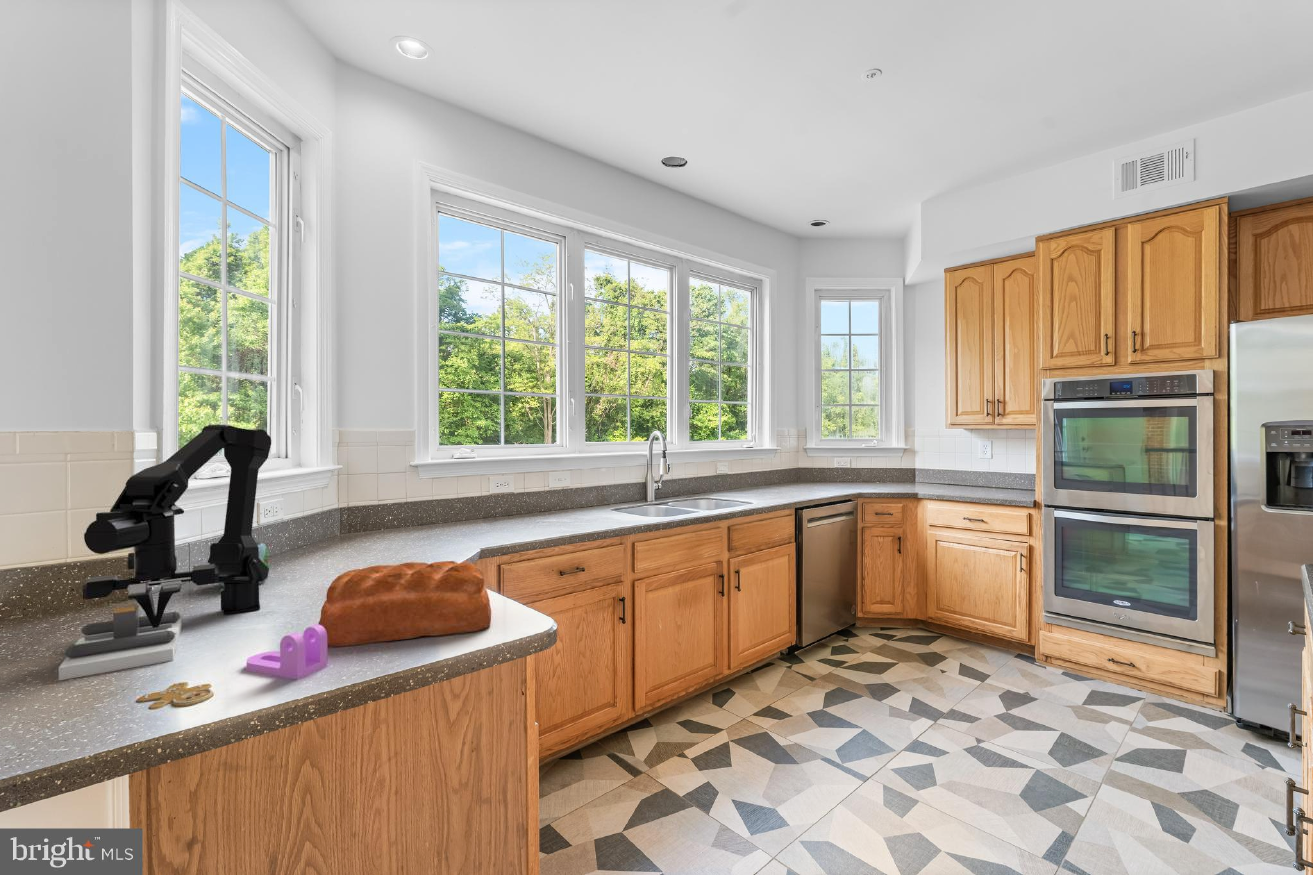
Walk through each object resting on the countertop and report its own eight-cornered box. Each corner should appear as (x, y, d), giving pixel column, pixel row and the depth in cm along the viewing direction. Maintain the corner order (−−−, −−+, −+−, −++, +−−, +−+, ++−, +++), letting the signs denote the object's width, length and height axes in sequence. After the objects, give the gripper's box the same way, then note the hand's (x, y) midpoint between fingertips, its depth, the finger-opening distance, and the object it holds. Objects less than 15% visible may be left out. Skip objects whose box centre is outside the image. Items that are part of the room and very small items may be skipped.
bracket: (327, 667, 100) (327, 625, 100) (297, 680, 94) (297, 636, 94) (269, 657, 104) (269, 617, 104) (238, 669, 99) (237, 627, 98)
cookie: (187, 676, 94) (232, 684, 91) (187, 682, 94) (232, 691, 91) (125, 699, 86) (172, 709, 83) (126, 705, 86) (173, 716, 83)
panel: (181, 625, 120) (181, 605, 120) (173, 660, 102) (172, 637, 102) (86, 639, 112) (86, 618, 112) (58, 680, 94) (58, 655, 94)
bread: (492, 632, 116) (492, 566, 116) (310, 651, 107) (310, 579, 106) (489, 609, 131) (488, 550, 131) (329, 624, 121) (328, 560, 121)
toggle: (139, 632, 109) (138, 601, 109) (136, 638, 106) (135, 607, 106) (117, 635, 108) (116, 604, 107) (113, 641, 104) (113, 610, 104)
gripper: (218, 530, 121) (219, 607, 121) (92, 541, 110) (94, 625, 110) (217, 539, 112) (219, 621, 112) (81, 551, 101) (82, 643, 101)
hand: (156, 627), depth 109 cm, fingers closed
